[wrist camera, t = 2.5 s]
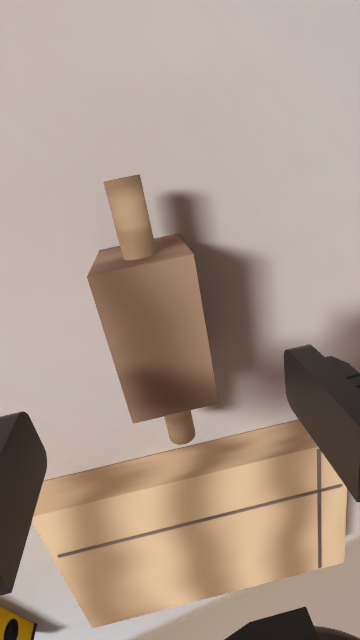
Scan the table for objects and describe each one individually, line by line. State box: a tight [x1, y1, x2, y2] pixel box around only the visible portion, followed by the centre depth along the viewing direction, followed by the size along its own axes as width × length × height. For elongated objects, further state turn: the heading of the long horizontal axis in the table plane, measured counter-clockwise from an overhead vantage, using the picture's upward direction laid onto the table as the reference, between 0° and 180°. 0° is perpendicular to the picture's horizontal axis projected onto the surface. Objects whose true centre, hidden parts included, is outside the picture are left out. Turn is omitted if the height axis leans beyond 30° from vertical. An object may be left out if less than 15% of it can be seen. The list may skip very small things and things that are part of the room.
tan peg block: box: [87, 175, 219, 445], centre depth 16 cm, size 4×13×5 cm, turn 10°
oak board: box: [32, 420, 347, 628], centre depth 24 cm, size 20×13×3 cm, turn 100°
